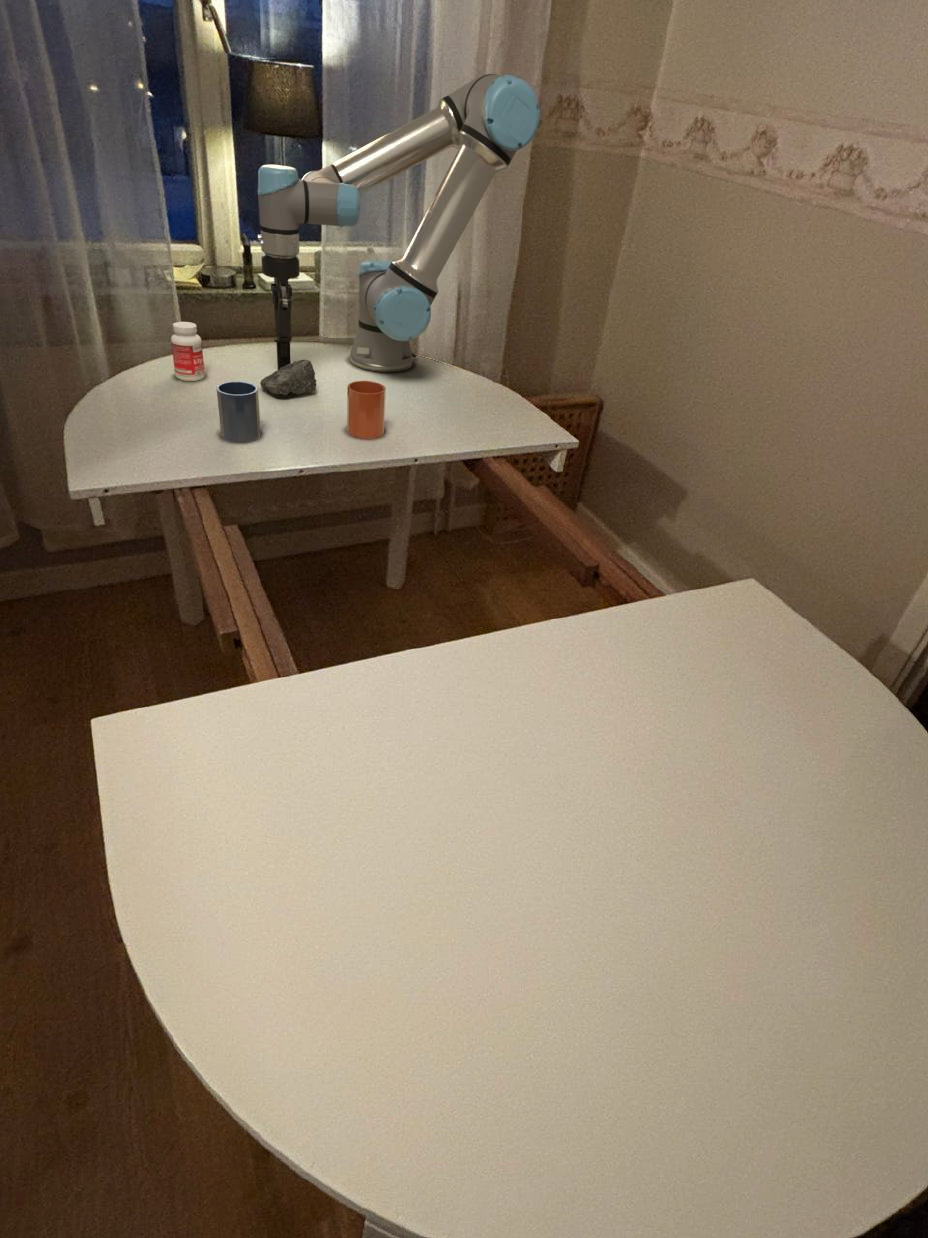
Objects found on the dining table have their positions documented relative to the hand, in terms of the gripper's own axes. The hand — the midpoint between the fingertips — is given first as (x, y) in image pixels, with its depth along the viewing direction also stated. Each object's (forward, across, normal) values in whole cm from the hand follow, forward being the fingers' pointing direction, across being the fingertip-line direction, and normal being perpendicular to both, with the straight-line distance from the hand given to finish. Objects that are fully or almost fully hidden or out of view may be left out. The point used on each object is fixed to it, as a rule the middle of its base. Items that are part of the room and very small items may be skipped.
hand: (284, 370), depth 163 cm
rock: (+3, +7, 0) cm, 7 cm away
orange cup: (+2, +29, +13) cm, 31 cm away
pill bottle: (+3, -3, -20) cm, 20 cm away
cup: (+3, +29, -11) cm, 31 cm away
